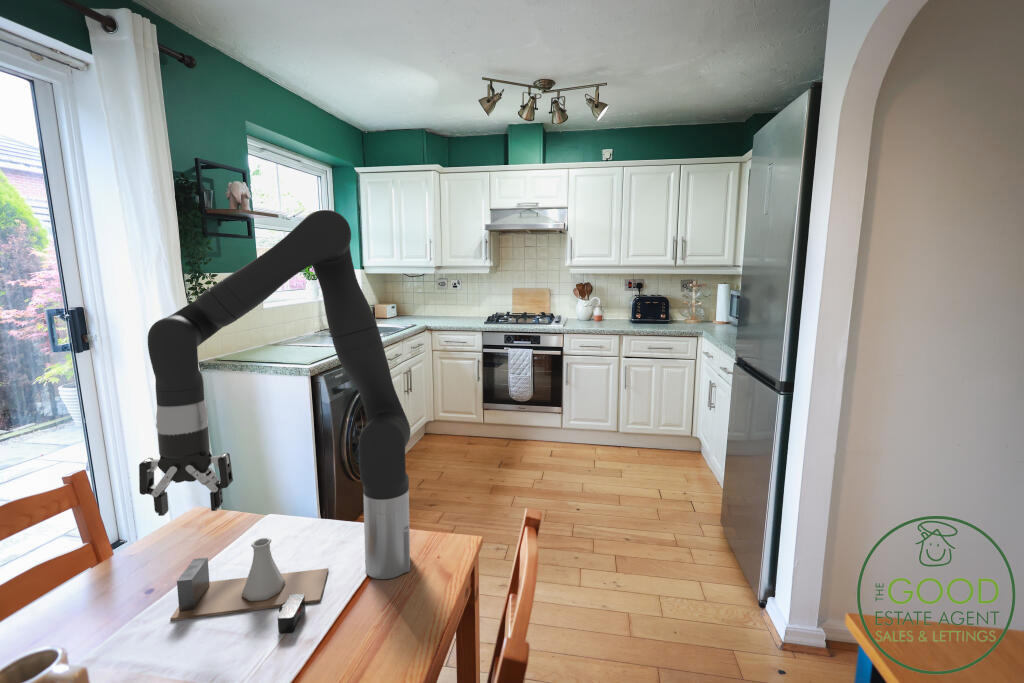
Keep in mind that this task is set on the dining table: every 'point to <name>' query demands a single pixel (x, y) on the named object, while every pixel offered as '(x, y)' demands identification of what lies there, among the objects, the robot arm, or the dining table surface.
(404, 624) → the dining table surface
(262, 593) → the flask
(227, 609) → the strip
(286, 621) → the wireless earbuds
